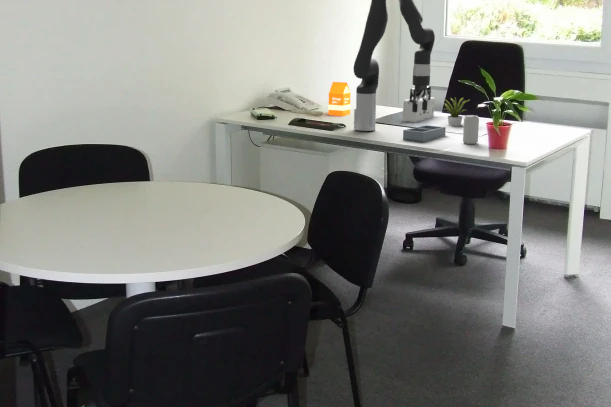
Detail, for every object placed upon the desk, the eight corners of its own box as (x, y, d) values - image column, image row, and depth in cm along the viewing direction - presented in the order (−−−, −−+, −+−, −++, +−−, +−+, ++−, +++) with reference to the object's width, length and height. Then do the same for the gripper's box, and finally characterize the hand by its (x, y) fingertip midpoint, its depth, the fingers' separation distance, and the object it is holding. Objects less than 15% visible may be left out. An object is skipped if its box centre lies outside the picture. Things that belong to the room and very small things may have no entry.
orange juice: (342, 122, 410) (343, 83, 405) (328, 121, 414) (328, 82, 409) (350, 120, 416) (351, 82, 411) (335, 119, 421) (336, 81, 416)
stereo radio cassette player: (421, 121, 414) (422, 82, 409) (435, 122, 409) (437, 83, 404) (401, 126, 397) (403, 85, 392) (416, 127, 392) (417, 86, 388)
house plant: (470, 127, 393) (472, 94, 389) (473, 131, 380) (475, 97, 376) (441, 126, 395) (442, 93, 391) (443, 131, 381) (444, 96, 377)
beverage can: (477, 144, 343) (479, 117, 340) (462, 144, 345) (464, 116, 342) (477, 142, 349) (479, 115, 346) (462, 141, 351) (464, 114, 348)
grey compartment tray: (423, 142, 348) (423, 132, 347) (402, 140, 355) (403, 130, 354) (445, 137, 363) (445, 127, 362) (425, 134, 370) (425, 125, 369)
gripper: (422, 72, 356) (420, 108, 360) (405, 74, 345) (403, 112, 349) (437, 73, 352) (435, 110, 356) (420, 76, 341) (418, 113, 345)
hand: (419, 111), depth 352 cm, fingers open, 8 cm apart
